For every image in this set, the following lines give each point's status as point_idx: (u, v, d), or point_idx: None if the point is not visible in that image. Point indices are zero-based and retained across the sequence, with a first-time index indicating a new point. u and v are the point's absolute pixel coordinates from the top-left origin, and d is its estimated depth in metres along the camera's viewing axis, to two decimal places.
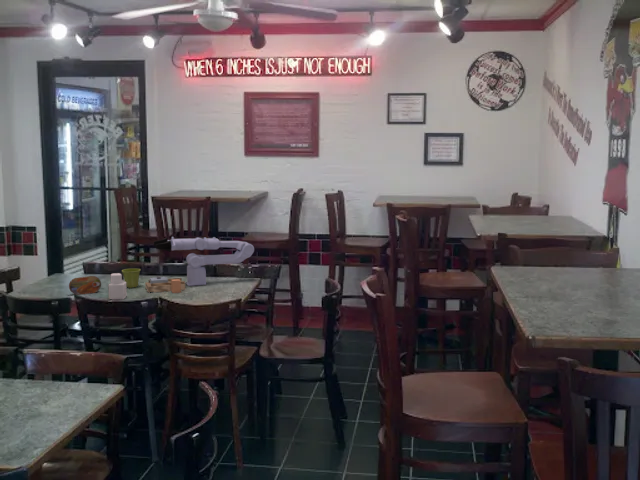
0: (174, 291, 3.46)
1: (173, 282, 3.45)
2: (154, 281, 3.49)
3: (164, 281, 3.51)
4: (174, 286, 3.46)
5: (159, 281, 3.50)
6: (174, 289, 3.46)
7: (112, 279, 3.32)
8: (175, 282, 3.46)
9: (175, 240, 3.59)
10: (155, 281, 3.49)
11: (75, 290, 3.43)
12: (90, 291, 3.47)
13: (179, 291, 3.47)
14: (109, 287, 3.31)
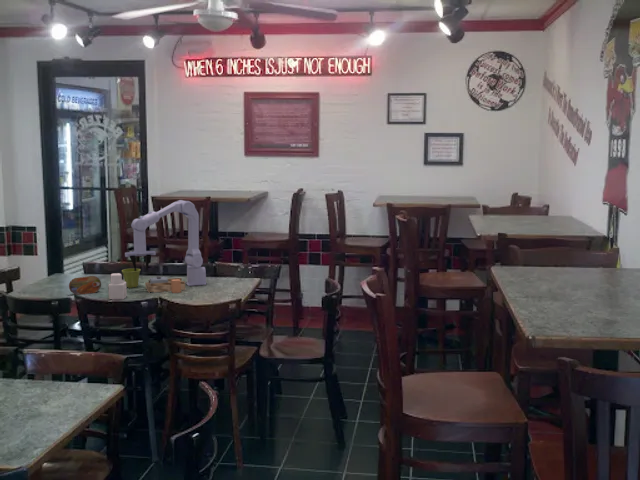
0: (174, 291, 3.46)
1: (173, 282, 3.45)
2: (154, 281, 3.49)
3: (164, 281, 3.51)
4: (174, 286, 3.46)
5: (159, 281, 3.50)
6: (174, 289, 3.46)
7: (112, 279, 3.32)
8: (175, 282, 3.46)
9: (143, 250, 3.47)
10: (155, 281, 3.49)
11: (75, 290, 3.43)
12: (90, 291, 3.47)
13: (179, 291, 3.47)
14: (109, 287, 3.31)
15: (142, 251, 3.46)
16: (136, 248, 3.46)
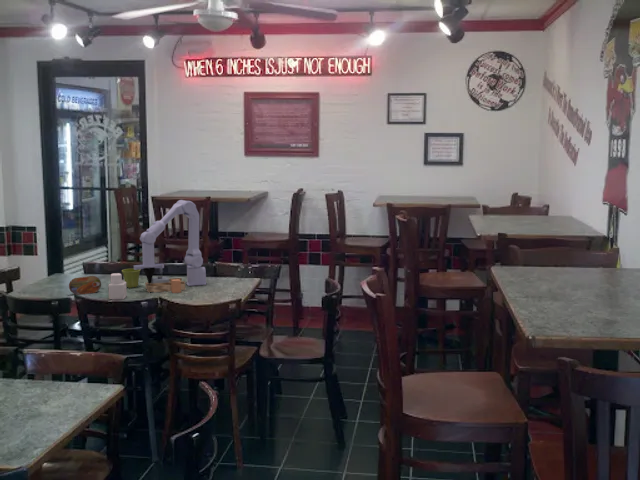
0: (174, 291, 3.46)
1: (173, 282, 3.45)
2: (155, 281, 3.49)
3: (165, 281, 3.51)
4: (174, 286, 3.46)
5: (160, 281, 3.50)
6: (174, 289, 3.46)
7: (112, 279, 3.32)
8: (175, 282, 3.46)
9: (152, 263, 3.49)
10: (156, 281, 3.49)
11: (75, 290, 3.43)
12: (90, 291, 3.47)
13: (179, 291, 3.47)
14: (109, 287, 3.31)
15: (151, 264, 3.49)
16: (145, 261, 3.48)
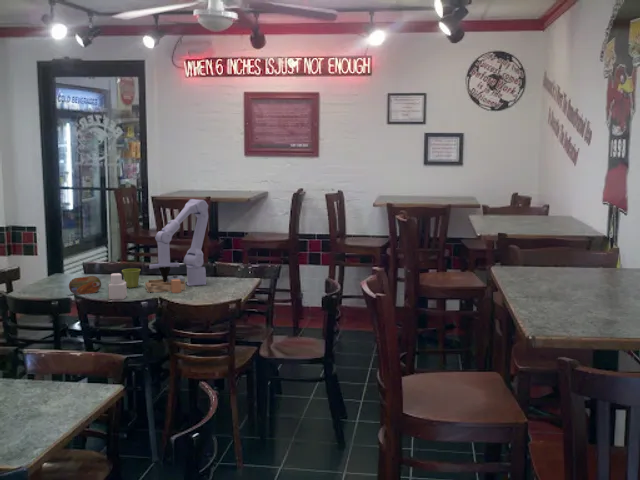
0: (174, 291, 3.46)
1: (173, 282, 3.45)
2: None
3: (181, 280, 3.53)
4: (174, 286, 3.46)
5: None
6: (174, 289, 3.46)
7: (112, 279, 3.32)
8: (175, 282, 3.46)
9: (168, 262, 3.52)
10: None
11: (75, 290, 3.43)
12: (90, 291, 3.47)
13: (179, 291, 3.47)
14: (109, 287, 3.31)
15: (166, 263, 3.51)
16: (160, 260, 3.51)
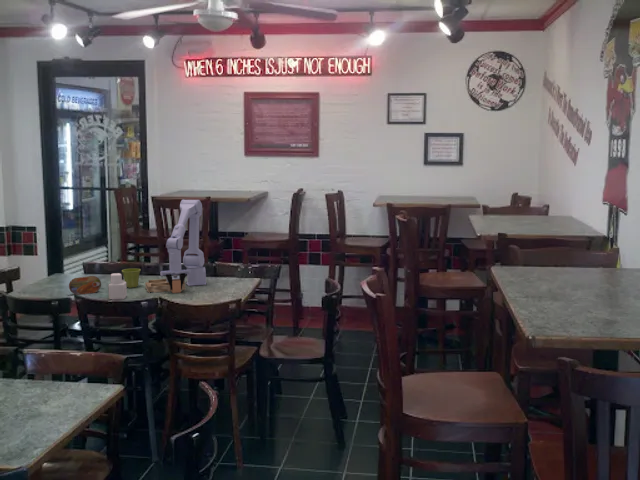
0: (174, 291, 3.46)
1: (173, 282, 3.45)
2: None
3: None
4: (174, 286, 3.46)
5: None
6: (174, 289, 3.46)
7: (112, 279, 3.32)
8: (175, 282, 3.46)
9: (179, 269, 3.45)
10: None
11: (75, 290, 3.43)
12: (90, 291, 3.47)
13: (179, 291, 3.47)
14: (109, 287, 3.31)
15: (178, 270, 3.45)
16: (172, 267, 3.44)
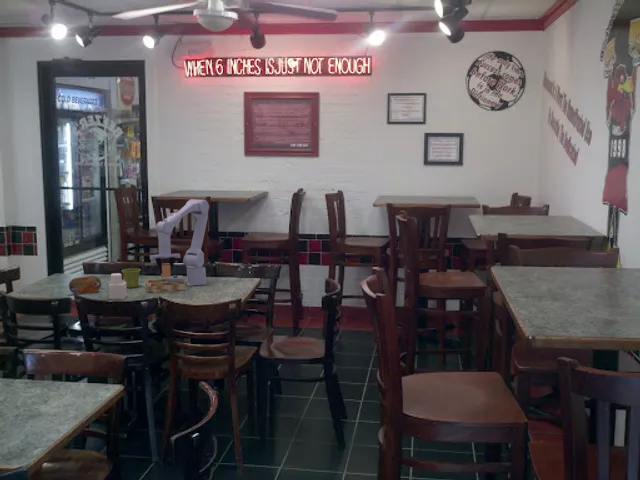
0: (164, 275, 3.48)
1: (163, 267, 3.47)
2: (171, 280, 3.52)
3: (181, 280, 3.54)
4: (164, 270, 3.48)
5: (176, 280, 3.53)
6: (164, 273, 3.48)
7: (112, 279, 3.32)
8: (165, 267, 3.48)
9: (168, 253, 3.48)
10: (172, 280, 3.52)
11: (75, 290, 3.43)
12: (90, 291, 3.47)
13: (169, 275, 3.49)
14: (109, 287, 3.31)
15: (167, 254, 3.47)
16: (161, 251, 3.46)
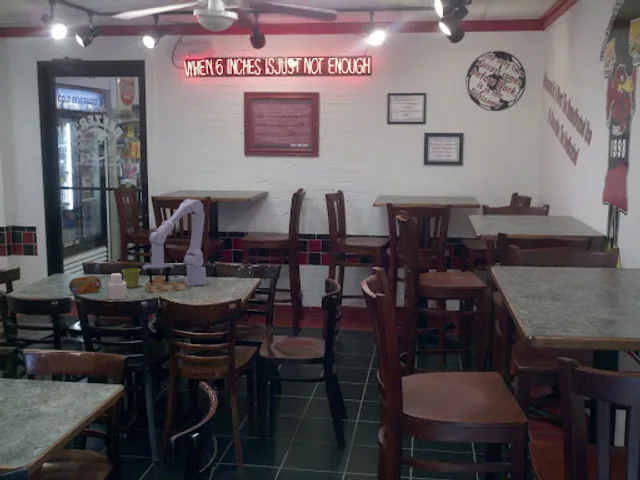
0: None
1: (156, 279, 3.51)
2: (172, 280, 3.52)
3: (181, 280, 3.54)
4: None
5: (177, 280, 3.53)
6: None
7: (112, 279, 3.32)
8: (158, 279, 3.51)
9: (161, 263, 3.51)
10: (173, 280, 3.52)
11: (75, 290, 3.43)
12: (90, 291, 3.47)
13: None
14: (109, 287, 3.31)
15: (160, 264, 3.50)
16: (154, 261, 3.50)
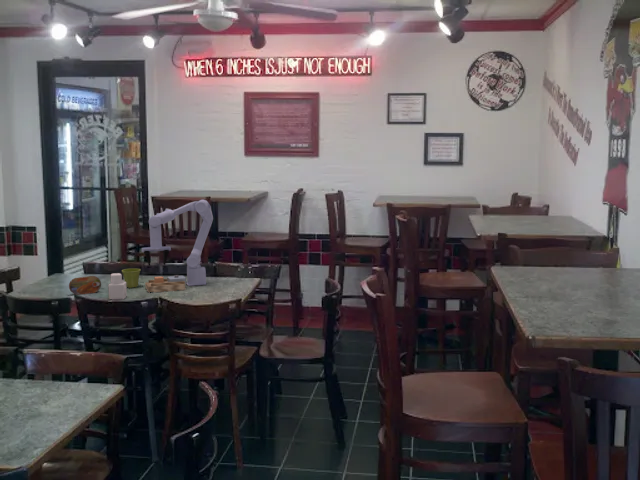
0: None
1: (156, 279, 3.51)
2: (172, 280, 3.52)
3: (182, 280, 3.54)
4: None
5: (177, 280, 3.53)
6: None
7: (112, 279, 3.32)
8: (158, 279, 3.51)
9: (159, 246, 3.62)
10: (173, 280, 3.52)
11: (75, 290, 3.43)
12: (90, 291, 3.47)
13: None
14: (109, 287, 3.31)
15: (158, 246, 3.62)
16: (152, 244, 3.61)
